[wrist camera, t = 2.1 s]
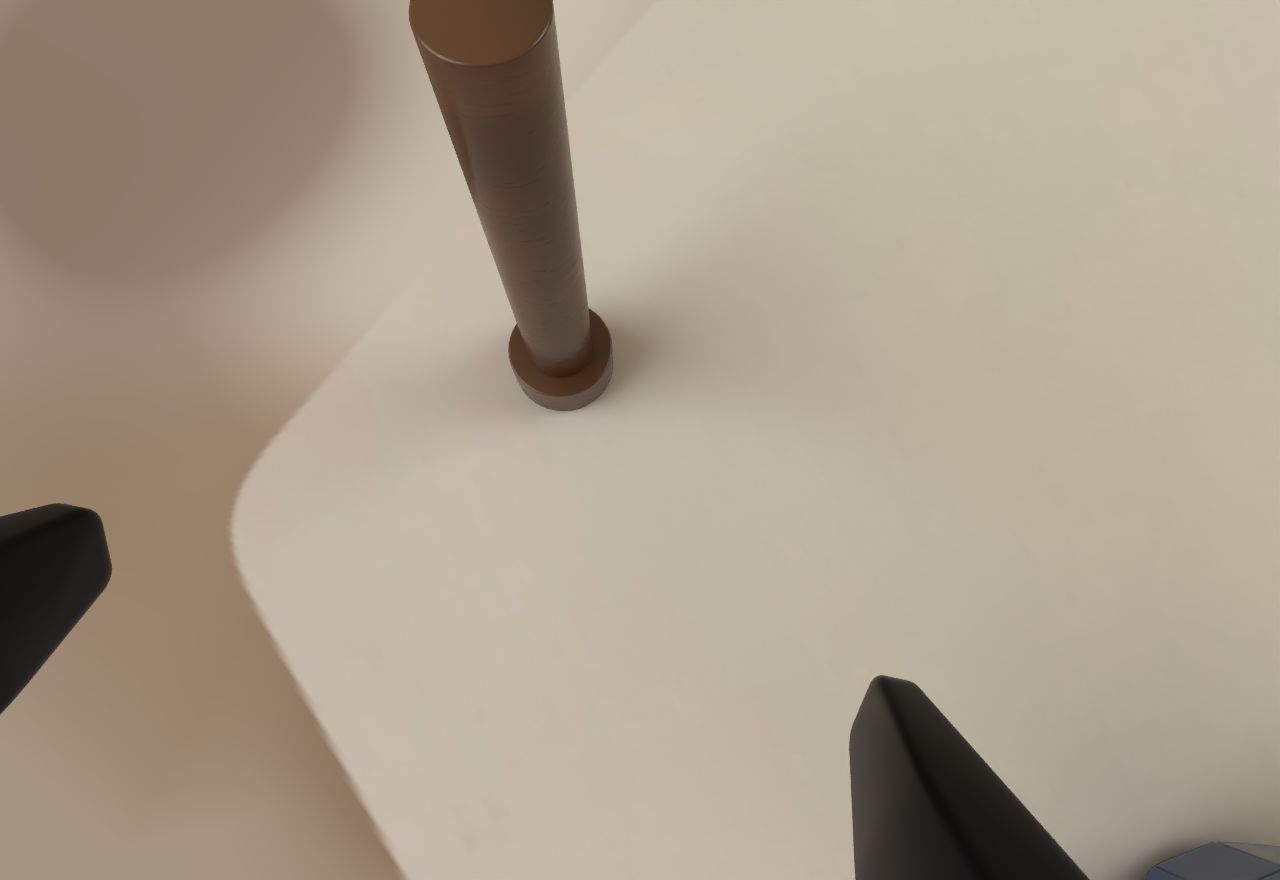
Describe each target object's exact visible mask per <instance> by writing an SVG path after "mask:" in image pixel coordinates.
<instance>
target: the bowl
mask: <svg viewBox="0 0 1280 880" xmlns="http://www.w3.org/2000/svg"><path fill="white" fill-rule="evenodd" d="M1143 880H1280V846H1270V845H1257V844H1244V843H1230V842H1210V843H1208V844H1206V845H1203V846H1201V847H1198V848H1196V849H1193V850H1191V851H1189V852H1186V853H1184V854H1181V855H1179V856H1176V857H1174V858H1171V859H1169V860H1167V861H1164V862H1162V863H1159V864H1157V865H1155V867H1153V868H1152V869H1151V870H1150V871H1149V872H1148V874H1147V875H1146V876H1145V877H1144V878H1143Z"/></svg>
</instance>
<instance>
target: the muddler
mask: <svg viewBox="0 0 1280 880" xmlns="http://www.w3.org/2000/svg"><path fill="white" fill-rule="evenodd" d="M409 21H410V25H411V28H412V31H413V34H414V37H415V40H416V42H417V45H418V48H419V51H420V54H421V56H422V59H423V62H424V65H425V67H426V70H427V73H428V76H429V79H430V82H431V84H432V87H433V90H434V93H435V95H436V98H437V101H438V104H439V107H440V109H441V112H442V115H443V118H444V121H445V123H446V126H447V129H448V132H449V135H450V137H451V140H452V143H453V146H454V149H455V151H456V154H457V157H458V160H459V163H460V165H461V168H462V171H463V174H464V176H465V179H466V182H467V185H468V188H469V190H470V193H471V196H472V199H473V202H474V204H475V207H476V210H477V213H478V216H479V218H480V221H481V224H482V227H483V230H484V232H485V235H486V238H487V241H488V244H489V246H490V249H491V252H492V255H493V258H494V260H495V263H496V266H497V269H498V272H499V274H500V277H501V280H502V283H503V285H504V288H505V291H506V294H507V297H508V299H509V302H510V305H511V308H512V311H513V313H514V316H515V319H516V322H517V324H516V326H515V327H514V329H513V331H512V334H511V337H510V341H509V350H508V351H509V359H510V363H511V366H512V369H513V371H514V373H515V375H516V378H517V380H518V382H519V384H520V386H521V388H522V390H523V391H524V392H525V394H526V395H527V396H528V397H529V398H530V399H531V400H533V401H534V402H535V403H537V404H539V405H540V406H543V407H545V408H548V409H552V410H558V411H568V410H574V409H578V408H581V407H584V406H586V405H588V404H590V403H591V402H593V401H594V400H595V399H597V398H598V397H599V396H600V395H601V394H602V392H603V391H604V390H605V388H606V387H607V385H608V383H609V381H610V378H611V375H612V369H613V356H612V341H611V337H610V333H609V331H608V328H607V327H606V325H605V323H604V322H603V320H602V319H601V318H600V317H599V316H598V315H597V314H596V313H595V312H593V311H592V310H591V309H589V308H588V302H587V293H586V284H585V276H584V267H583V258H582V250H581V241H580V232H579V224H578V215H577V206H576V198H575V189H574V180H573V172H572V163H571V155H570V146H569V137H568V129H567V120H566V111H565V103H564V94H563V86H562V77H561V69H560V60H559V51H558V42H557V34H556V25H555V16H554V8H553V0H410V5H409Z"/></svg>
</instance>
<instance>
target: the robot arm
mask: <svg viewBox="0 0 1280 880" xmlns="http://www.w3.org/2000/svg"><path fill="white" fill-rule="evenodd" d="M111 572H112V564H111V559H110V555H109V551H108V546H107V541H106V536H105V532H104V528H103V523H102V520H101V518H100V516H99V515H98V514H97V513H96V512H94V511H93V510H91V509H87V508H82V507H77V506H72V505H68V504H60V503H57V504H49V505H46V506H41V507H37V508H33V509H29V510H25V511H21V512H17V513H13V514H9V515H5V516H1V517H0V714H1V713H2V712H3V711H4V710H5V709H6V708H7V707H8V705H10V704H11V702H12V701H13V700H14V699H15V698H16V697H17V695H18V694H19V693H20V692H21V691H22V690H23V688H24V687H25V686H26V685H27V684H28V683H29V681H30V680H31V679H32V678H33V676H34V675H35V674H36V673H37V672H38V670H39V669H40V668H41V667H42V665H43V664H44V663H45V661H46V660H47V659H48V658H49V657H50V655H51V654H52V653H53V652H54V651H55V649H56V648H57V647H58V646H59V645H60V643H61V642H62V641H63V640H64V638H65V637H66V636H67V635H68V633H69V632H70V631H71V630H72V628H73V627H74V626H75V625H76V624H77V622H78V621H79V620H80V619H81V618H82V616H83V615H84V614H85V612H86V611H87V610H88V609H89V608H90V607H91V605H92V604H93V603H94V601H95V600H96V599H97V598H98V597H99V595H100V594H101V593H102V592H103V590H104V589H105V588H106V586H107V584H108V582H109V580H110V577H111ZM849 752H850V774H851V797H852V819H853V841H854V864H855V879H856V880H1090V879H1089V878H1088V877H1087V876H1086V875H1085V874H1084V873H1083V871H1082V870H1081V869H1080V868H1079V867H1078V866H1077V865H1076V864H1075V862H1074V861H1073V860H1072V859H1071V858H1070V857H1069V856H1068V855H1067V853H1066V852H1065V851H1064V850H1063V849H1062V848H1061V847H1060V846H1059V844H1058V843H1057V842H1056V841H1055V840H1054V839H1053V838H1052V837H1051V835H1050V834H1049V833H1048V832H1047V831H1046V830H1045V829H1044V828H1043V826H1042V825H1041V824H1040V823H1039V822H1038V821H1037V820H1036V818H1035V817H1034V816H1033V815H1032V814H1031V813H1030V812H1029V811H1028V809H1027V808H1026V807H1025V806H1024V805H1023V804H1022V803H1021V802H1020V800H1019V799H1018V798H1017V797H1016V796H1015V795H1014V794H1013V793H1012V791H1011V790H1010V789H1009V788H1008V787H1007V786H1006V785H1005V784H1004V782H1003V781H1002V780H1001V779H1000V778H999V777H998V776H997V775H996V773H995V772H994V771H993V770H992V769H991V768H990V767H989V766H988V764H987V763H986V762H985V761H984V760H983V759H982V758H981V757H980V755H979V754H978V753H977V752H976V751H975V750H974V749H973V748H972V746H971V745H970V744H969V743H968V742H967V741H966V740H965V739H964V737H963V736H962V735H961V734H960V733H959V732H958V731H957V730H956V728H955V727H954V726H953V725H952V724H951V723H950V722H949V721H948V719H947V718H946V717H945V716H944V715H943V714H942V713H941V712H940V710H939V709H938V708H937V707H936V706H935V705H934V704H933V703H932V701H931V700H930V699H929V698H928V697H927V696H926V695H925V694H924V692H923V691H922V690H921V689H920V688H919V687H918V686H917V685H916V684H914V683H913V682H910V681H907V680H903V679H898V678H893V677H888V676H883V675H880V676H877V677H875V678H874V679H873V680H872V682H871V683H870V685H869V688H868V690H867V692H866V695H865V697H864V699H863V702H862V704H861V706H860V709H859V711H858V713H857V716H856V718H855V720H854V723H853V725H852V729H851V733H850V742H849Z"/></svg>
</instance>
